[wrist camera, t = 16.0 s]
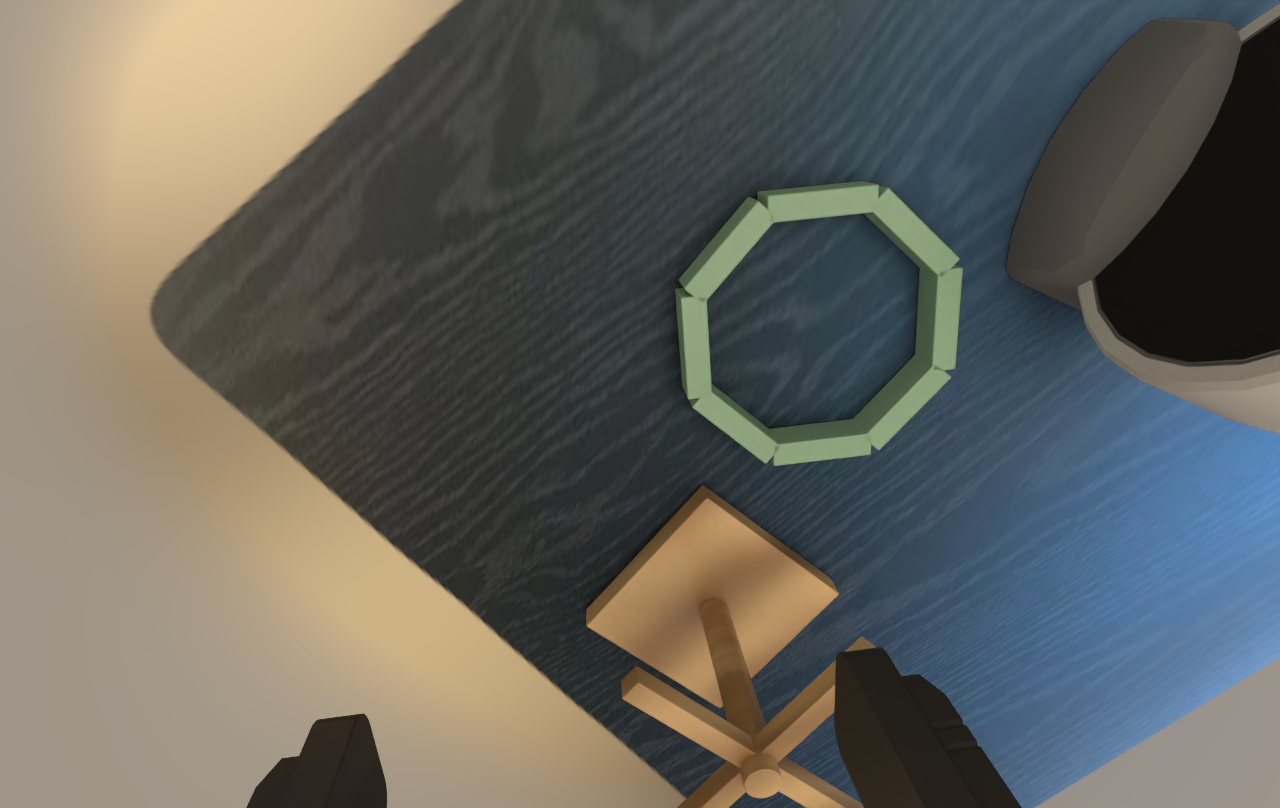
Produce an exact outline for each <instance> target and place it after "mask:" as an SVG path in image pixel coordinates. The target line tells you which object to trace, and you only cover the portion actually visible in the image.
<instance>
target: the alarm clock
mask: <svg viewBox="0 0 1280 808" xmlns="http://www.w3.org/2000/svg"><path fill="white" fill-rule="evenodd" d="M1006 269H1007V272H1008V274H1009V276H1010V278H1011V279H1013V280H1015V281H1017V282H1019V283H1022V284H1024V285H1026V286H1028V287H1030V288H1032V289H1034V290H1037V291H1039V292H1041V293H1043V294H1045V295H1047V296H1050V297H1052V298H1054V299H1056V300H1058V301H1060V302H1062V303H1065V304H1067V305H1069V306H1071V307H1073V308H1075V309H1078V310H1080V311H1082V313H1083V318H1084V322H1085V326H1086V328H1087V329H1088V331H1089V332H1090V334H1091V336H1092V337H1093V339H1094V340H1095V342H1096V343H1097V345H1098V346H1099V348H1100V349H1101V351H1102V352H1103V354H1104V356H1105V357H1107V358H1108V359H1109V360H1111V361H1112V362H1114V363H1115V364H1117V365H1118V366H1119V367H1121V368H1122V369H1124V370H1125V371H1127V372H1128V373H1130V374H1131V375H1132V376H1134V377H1135V378H1137V379H1138V380H1141V381H1143V382H1145V383H1147V384H1150V385H1152V386H1154V387H1156V388H1159V389H1161V390H1163V391H1165V392H1167V393H1170V394H1172V395H1174V396H1176V397H1179V398H1181V399H1183V400H1185V401H1188V402H1190V403H1192V404H1194V405H1196V406H1199V407H1201V408H1203V409H1205V410H1208V411H1210V412H1212V413H1214V414H1217V415H1219V416H1221V417H1223V418H1226V419H1229V420H1233V421H1236V422H1239V423H1243V424H1246V425H1250V426H1253V427H1257V428H1260V429H1263V430H1267V431H1270V432H1274V433H1280V3H1279V4H1278V5H1277V6H1275V7H1274V8H1272V9H1271V10H1269V11H1268V12H1266V13H1265V14H1263V15H1262V16H1260V17H1259V18H1257V19H1256V20H1254V21H1253V22H1251V23H1250V24H1248V25H1247V26H1245V27H1244V28H1242V29H1241V30H1239V29H1237V28H1235V27H1234V26H1232V25H1230V24H1229V23H1227V22H1225V21H1220V20H1195V19H1171V18H1163V19H1158V20H1153V21H1150V22H1149V23H1148V24H1147V25H1146V26H1145V27H1143V28H1142V29H1141V30H1140V31H1139V32H1138V33H1137V34H1135V35H1134V36H1133V37H1132V38H1131V39H1130V40H1129V41H1127V42H1126V43H1125V44H1124V45H1123V46H1122V47H1121V48H1119V50H1118V51H1117V52H1116V53H1115V54H1114V55H1113V57H1112V58H1111V59H1110V60H1109V61H1108V62H1107V63H1106V65H1105V66H1104V67H1103V68H1102V69H1101V70H1100V72H1099V73H1098V74H1097V75H1096V76H1095V77H1094V79H1093V80H1092V81H1091V82H1090V83H1089V84H1088V86H1087V87H1086V88H1085V89H1084V90H1083V91H1082V93H1081V94H1080V96H1079V97H1078V99H1077V100H1076V102H1075V103H1074V105H1073V106H1072V108H1071V109H1070V111H1069V112H1068V114H1067V115H1066V117H1065V118H1064V120H1063V121H1062V123H1061V124H1060V126H1059V127H1058V129H1057V130H1056V131H1055V133H1054V134H1053V136H1052V137H1051V139H1050V141H1049V143H1048V145H1047V147H1046V149H1045V152H1044V154H1043V156H1042V158H1041V160H1040V162H1039V164H1038V166H1037V168H1036V170H1035V172H1034V174H1033V176H1032V179H1031V181H1030V183H1029V185H1028V187H1027V189H1026V192H1025V195H1024V198H1023V201H1022V204H1021V207H1020V210H1019V213H1018V216H1017V219H1016V222H1015V225H1014V228H1013V231H1012V234H1011V240H1010V246H1009V252H1008V258H1007V264H1006Z"/></svg>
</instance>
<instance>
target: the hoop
mask: <svg viewBox="0 0 1280 808" xmlns="http://www.w3.org/2000/svg"><path fill="white" fill-rule="evenodd" d="M853 214H864V215H865V216H866V217H867V218H868V219H869V220H871V221H872V222H873V223H874V224H875V225H876V226H877V227H878V228H879V229H880V230H881V231H882V232H883V233H884V234H885V235H886V236H887V237H888V238H889V239H890V240H891V241H892V242H893V243H894V244H895V245H896V246H897V247H899V248H900V249H901V250H902V251H903V252H904V253H905V254H906V255H907V256H908V257H909V258H910V259H911V260H912V261H913V262H914V263H915V264H916V265H917V266H918V267H919V268H920V271H919V290H918V309H917V327H916V346H915V355H914V356H913V357H912V358H911V359H910V360H909V361H908V362H907V363H906V364H905V366H904V367H903V368H902V369H901V370H900V371H899V372H898V373H897V374H896V375H895V376H894V377H893V378H892V379H891V380H890V381H889V382H888V383H887V384H886V385H885V386H884V387H883V388H882V389H881V390H880V391H879V392H878V393H877V394H876V395H875V397H874V398H873V399H872V400H871V401H870V402H869V403H868V404H867V405H866V406H865V407H864V408H863V409H862V410H861V411H860V412H859V413H858V414H857V415H856V416H855V417H854V418H853V419H849V420H840V421H831V422H823V423H814V424H806V425H797V426H789V427H780V428H772V429H768V428H767V427H766V426H764V425H763V424H762V423H761V422H759V421H758V420H757V419H756V418H754V417H753V416H752V415H751V414H749V413H748V412H747V411H746V410H744V409H743V408H742V407H740V406H739V405H738V404H737V403H735V402H734V401H733V400H732V399H730V398H729V397H728V396H727V395H725V394H724V393H723V392H721V391H720V390H719V389H718V388H716V387H715V386H714V385H713V384H711V367H710V349H709V331H708V314H707V300H708V298H709V297H710V296H711V295H712V294H713V293H714V291H715V290H716V289H717V288H718V287H719V286H720V284H721V283H722V282H723V281H724V280H725V279H726V277H727V276H728V275H729V274H730V273H731V272H732V271H733V269H734V268H735V267H736V266H737V265H738V264H739V262H740V261H741V260H742V259H743V258H744V257H745V255H746V254H747V253H748V252H749V251H750V250H751V248H752V247H753V246H754V245H755V244H756V243H757V241H758V240H759V239H760V238H761V237H762V236H763V234H764V233H765V232H766V231H767V230H768V229H769V228H770V226H771V225H772V224H773V223H776V222H786V221H796V220H805V219H815V218H824V217H834V216H844V215H853ZM958 261H959V257H958V256H957V255H956V254H955V253H954V252H953V251H952V250H951V249H950V248H949V247H948V246H947V245H946V244H945V243H944V242H943V241H942V240H941V239H940V238H939V237H938V236H937V235H936V234H935V233H934V232H933V231H932V230H931V229H930V228H929V227H928V226H927V225H926V224H925V223H924V222H923V221H921V220H920V219H919V218H918V217H917V216H916V215H915V214H914V213H913V212H912V211H911V210H910V209H909V208H908V207H907V206H906V205H905V204H904V203H903V202H902V201H901V200H900V199H899V198H898V197H897V196H896V195H895V194H894V193H893V192H892V191H891V190H890V189H889V188H887V187H882V186H879V185H878V184H874V183H869V182H864V181H856V182H846V183H837V184H827V185H817V186H807V187H797V188H788V189H778V190H768V191H759V192H758V193H757V200H755V199H753V198H750V197H748V198H747V199H746V200H745V201H744V202H743V203H742V205H741V206H740V207H739V208H738V209H737V211H736V212H735V213H734V214H733V215H732V217H731V218H730V219H729V220H728V221H727V222H726V224H725V225H724V226H723V227H722V228H721V230H720V231H719V232H718V233H717V234H716V236H715V237H714V238H713V239H712V240H711V242H710V243H709V244H708V245H707V246H706V247H705V249H704V250H703V251H702V252H701V253H700V255H699V256H698V257H697V258H696V259H695V261H694V262H693V263H692V264H691V265H690V266H689V268H688V269H687V270H686V271H685V272H684V274H683V275H682V276H681V277H680V278H679V282H680V283H681V285H682V286H683V288H678V289H676V290H675V294H676V308H677V322H678V335H679V349H680V363H681V377H682V386H683V388H684V391H685V393H686V396H687V398H688V399H689V401H690V403H691V406H692V408H694V409H695V410H696V411H697V412H699V413H700V414H701V415H703V416H704V417H705V418H707V419H708V420H709V421H710V422H712V423H713V424H714V425H716V426H717V427H718V428H720V429H721V430H722V431H723V432H725V433H726V434H727V435H729V436H730V437H731V438H733V439H734V440H735V441H736V442H738V443H739V444H740V445H742V446H743V447H744V448H746V449H747V450H748V451H749V452H751V453H752V454H753V455H755V456H756V457H757V458H759V459H760V460H761V461H762V462H764V463H767V462H768V461H769V460H771V462H772V463H773V465H774V466H778V465H787V464H795V463H804V462H812V461H820V460H829V459H837V458H846V457H854V456H862V455H870V454H871V445H872V446H874V447H875V448H876V449H877V450H880V449H881V448H882V447H883V446H884V445H885V444H886V443H887V442H888V441H889V440H890V439H891V438H892V437H893V436H894V435H895V434H896V433H897V432H898V431H899V430H900V429H901V428H902V427H903V426H904V425H905V424H906V423H907V422H908V421H909V420H910V419H911V418H912V417H913V416H914V415H915V414H916V413H917V412H918V411H919V410H920V409H921V407H922V406H923V405H924V404H925V403H926V402H927V401H928V400H929V399H930V398H931V397H932V396H933V395H934V394H935V393H936V392H937V391H938V390H939V389H940V388H941V387H942V386H943V385H944V384H945V383H946V382H947V381H948V380H949V379H950V378H951V376H950V375H949V374H947V373H946V372H945V371H944V370H950V369H955V365H956V351H957V338H958V325H959V312H960V299H961V285H962V272H963V268H962V267H959V266H957V265H955V264H956V263H957V262H958Z"/></svg>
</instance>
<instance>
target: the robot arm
mask: <svg viewBox="0 0 1280 808" xmlns="http://www.w3.org/2000/svg"><path fill="white" fill-rule="evenodd" d="M834 725H835V733H836V738H837V743H838V747H839V750H840V753H841V756H842V759H843V761H844V764H845V766H846V768H847V770H848V773H849V775H850V777H851V779H852V782H853V784H854V786H855V788H856V791H857V793H858V795H859V798H860V800H861V802H862V804H863V807H864V808H1021V806H1020V805H1019V803H1018V802H1017V800H1016V799H1015V797H1014V796H1013V794H1012V793H1011V791H1010V790H1009V788H1008V787H1007V785H1006V784H1005V782H1004V781H1003V779H1002V778H1001V777H1000V775H999V774H998V772H997V771H996V769H995V768H994V766H993V765H992V763H991V762H990V760H989V759H988V757H987V756H986V754H985V753H984V751H983V750H982V748H981V747H978V745H977V741H976V739H975V738H974V736H973V735H972V733H971V732H970V731H969V729H968V728H967V726H966V725H965V726H964V724H963V720H962V719H961V717H960V716H959V714H958V713H957V711H956V710H955V708H954V707H953V705H952V704H951V702H950V701H949V699H948V698H947V696H946V695H945V694H944V693H943V692H941V691H940V690H939V689H937V688H936V687H935V686H933V685H932V684H931V683H929V682H928V681H927V680H926V679H924V678H923V677H922V676H920V675H919V674H916V675H909V676H902V677H901V675H900V674H899V672H898V670H897V669H896V667H895V665H894V664H893V662H892V661H891V659H890V657H889V656H888V654H887V653H886V651H885V650H884V649H883V648H881V647H876V648H869V649H861V650H853V651H846V652H839V653H838V654H837V656H836V668H835V707H834ZM386 807H387V790H386V782H385V778H384V774H383V770H382V766H381V763H380V759H379V756H378V752H377V748H376V745H375V741H374V738H373V734H372V730H371V726H370V723H369V720H368V718H367V716H366V715H365V714H357V715H350V716H342V717H334V718H327V719H320V720H317V721H316V722H315V723H314V724H313V725H312V728H311V730H310V732H309V734H308V737H307V739H306V741H305V744H304V746H303V749H302V751H301V753H300V756H297V757H289V758H282V759H281V760H280V761H279V762H278V763H277V765H276V766H275V767H274V768H273V769H272V770H271V771H270V772H269V773H268V774H267V776H266V777H265V778H264V779H263V780H262V781H261V782H260V784H259V785H258V786H257V787H256V788H255V791H254V793H253V795H252V797H251V799H250V801H249V803H248V806H247V808H386Z"/></svg>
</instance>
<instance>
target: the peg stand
mask: <svg viewBox="0 0 1280 808" xmlns="http://www.w3.org/2000/svg"><path fill="white" fill-rule="evenodd" d="M838 595H839V593H838V591H837V589H836V587H835V586H834V584H833V582H832V580H831V579H830V578H829V577H828V576H826V575H825V574H824V573H822V572H821V571H820V570H818V569H817V568H815V567H814V566H813V565H811V564H810V563H809V562H807V561H806V560H805V559H803V558H802V557H800V556H799V555H798V554H796V553H795V552H794V551H792V550H791V549H790V548H788V547H787V546H785V545H784V544H783V543H781V542H780V541H779V540H777V539H776V538H775V537H773V536H772V535H770V534H769V533H768V532H766V531H765V530H764V529H762V528H761V527H760V526H758V525H757V524H755V523H754V522H753V521H751V520H750V519H749V518H747V517H746V516H745V515H743V514H742V513H740V512H739V511H738V510H736V509H735V508H734V507H732V506H731V505H730V504H728V503H727V502H725V501H724V500H723V499H721V498H720V497H719V496H717V495H716V494H715V493H713V492H712V491H710V490H709V489H708V488H706V487H705V486H704V485H702V486H701V487H700V488H699V489H698V490H697V491H696V492H695V493H694V494H693V495H692V497H691V498H690V499H689V500H688V501H687V502H686V503H685V504H684V505H683V506H682V507H681V508H680V509H679V511H678V512H677V513H676V514H675V515H674V516H673V517H672V518H671V519H670V520H669V521H668V522H667V523H666V524H665V526H664V527H663V528H662V529H661V530H660V531H659V532H658V533H657V534H656V535H655V536H654V537H653V538H652V540H651V541H650V542H649V543H648V544H647V545H646V546H645V547H644V548H643V549H642V550H641V551H640V552H639V553H638V555H637V556H636V557H635V558H634V559H633V560H632V561H631V562H630V563H629V564H628V565H627V566H626V567H625V568H624V570H623V571H622V572H621V573H620V574H619V575H618V576H617V577H616V578H615V579H614V580H613V581H612V582H611V584H610V585H609V586H608V587H607V588H606V589H605V590H604V591H603V592H602V593H601V594H600V595H599V596H598V597H597V599H596V600H595V601H594V602H593V603H592V604H591V605H590V606H589V607H588V608H587V609H586V619H587V627H589V628H590V629H592V630H594V631H595V632H597V633H598V634H600V635H602V636H603V637H605V638H607V639H608V640H610V641H611V642H613V643H615V644H616V645H618V646H620V647H621V648H623V649H624V650H626V651H628V652H629V653H631V654H632V655H634V656H636V657H637V658H639V659H641V660H642V661H644V662H645V663H647V664H649V665H650V666H652V667H654V668H655V669H657V670H658V671H660V672H662V673H663V674H665V675H667V676H668V677H670V678H671V679H673V680H675V681H676V682H678V683H679V684H681V685H683V686H684V687H686V688H688V689H689V690H691V691H692V692H694V693H696V694H697V695H699V696H701V697H702V698H704V699H705V700H707V701H709V702H710V703H712V704H714V705H715V706H717V707H718V708H721V707H722V706H723V707H724V711H725V715H726V719H727V721H726V720H724V719H722V718H721V717H719V716H718V715H716V714H714V713H713V712H711V711H709V710H708V709H706V708H704V707H703V706H701V705H700V704H698V703H696V702H695V701H693V700H691V699H690V698H688V697H686V696H685V695H683V694H682V693H680V692H678V691H677V690H675V689H673V688H672V687H670V686H669V685H667V684H665V683H664V682H662V681H660V680H659V679H657V678H655V677H654V676H652V675H651V674H649V673H647V672H646V671H644V670H642V669H641V668H639V667H637V666H635V667H634V668H633V669H632V670H631V671H630V672H629V674H628V675H627V676H626V677H625V678H624V679H623V680H622V681H621V688H622V698H623V699H624V700H625V701H627V702H629V703H630V704H632V705H634V706H635V707H637V708H639V709H640V710H642V711H644V712H646V713H647V714H649V715H651V716H652V717H654V718H656V719H657V720H659V721H661V722H662V723H664V724H666V725H668V726H669V727H671V728H673V729H674V730H676V731H678V732H679V733H681V734H683V735H684V736H686V737H688V738H690V739H691V740H693V741H695V742H696V743H698V744H700V745H701V746H703V747H705V748H706V749H708V750H710V751H712V752H713V753H715V754H717V755H718V756H720V757H722V758H723V759H725V760H727V762H726V763H725V764H724V765H723V766H722V767H720V768H719V769H718V770H717V771H716V772H715V773H714V774H713V775H712V776H711V777H710V778H709V779H708V780H706V781H705V782H704V783H703V784H702V785H701V786H700V787H699V788H698V789H697V790H696V791H695V792H694V793H693V794H691V795H690V796H689V797H688V798H687V799H686V800H685V801H684V802H683V803H682V804H681V805H680V806H679V807H678V808H729V807H730V806H731V805H732V804H733V803H734V802H735V801H736V800H737V799H738V798H740V797H741V796H742V795H743V794H744V793H745V792H747V793H748V794H749V795H750V796H752V797H755V798H766V797H769V796H772V795H774V794H775V793H776V792H778V791H779V792H781V793H783V794H784V795H786V796H788V797H789V798H791V799H793V800H795V801H796V802H798V803H800V804H801V805H803V806H805V807H806V808H864V807H863V804H861V803H860V802H858V801H856V800H855V799H853V798H851V797H850V796H848V795H847V794H845V793H843V792H842V791H840V790H838V789H837V788H835V787H833V786H832V785H830V784H829V783H827V782H825V781H824V780H822V779H820V778H819V777H817V776H815V775H814V774H812V773H811V772H809V771H807V770H806V769H804V768H802V767H801V766H799V765H798V764H796V763H794V762H793V761H791V760H789V759H788V758H786V757H785V756H786V755H787V754H788V753H789V752H790V751H791V750H792V749H794V748H795V747H796V746H797V745H798V744H799V743H800V742H801V741H802V740H803V739H805V738H806V737H807V736H808V735H809V734H810V733H811V732H812V731H813V730H814V729H816V728H817V727H818V726H819V725H820V724H821V723H822V722H823V721H824V720H825V719H827V718H828V717H829V716H830V715H831V714H832V713H833V712H834V707H835V668H836V660H835V661H834V662H833V663H832V664H831V665H830V666H829V667H828V668H827V669H826V670H825V671H824V672H823V673H821V674H820V675H819V676H818V677H817V678H816V679H815V680H814V681H813V682H812V683H811V684H810V685H809V686H808V687H806V688H805V689H804V690H803V691H802V692H801V693H800V694H799V695H798V696H797V697H796V698H795V699H794V700H792V701H791V702H790V703H789V704H788V705H787V706H786V707H785V708H784V709H783V710H782V711H781V712H780V713H778V714H777V715H776V716H775V717H774V718H773V719H772V720H771V721H770V722H769V723H768V724H767V725H765V722H764V719H763V716H762V713H761V709H760V706H759V703H758V700H757V697H756V694H755V690H754V687H753V684H752V681H751V678H752V677H753V676H754V675H755V674H756V673H758V672H759V671H760V670H761V669H762V668H763V667H764V666H765V665H766V664H767V663H768V662H769V661H770V660H771V659H772V658H773V657H774V656H775V655H776V654H777V653H778V652H779V651H780V650H782V649H783V648H784V647H785V646H786V645H787V644H788V643H789V642H790V641H791V640H792V639H793V638H794V637H795V636H796V635H797V634H798V633H799V632H800V631H801V630H802V629H803V628H804V627H806V626H807V625H808V624H809V623H810V622H811V621H812V620H813V619H814V618H815V617H816V616H817V615H818V614H819V613H820V612H821V611H822V610H823V609H824V608H825V607H826V606H827V605H828V604H830V603H831V602H832V601H833V600H834V599H835V598H836V597H837V596H838ZM869 648H876V646H874V645H873V644H871V643H870V642H869V641H867V640H866V639H864V638H863V637H860V638H859V639H858V640H857V641H856V642H855V643H854V644H853V645H852V646H850V647H849V648H848V649H847V650H846V651H853V650H861V649H869ZM846 651H845V652H846Z"/></svg>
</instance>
